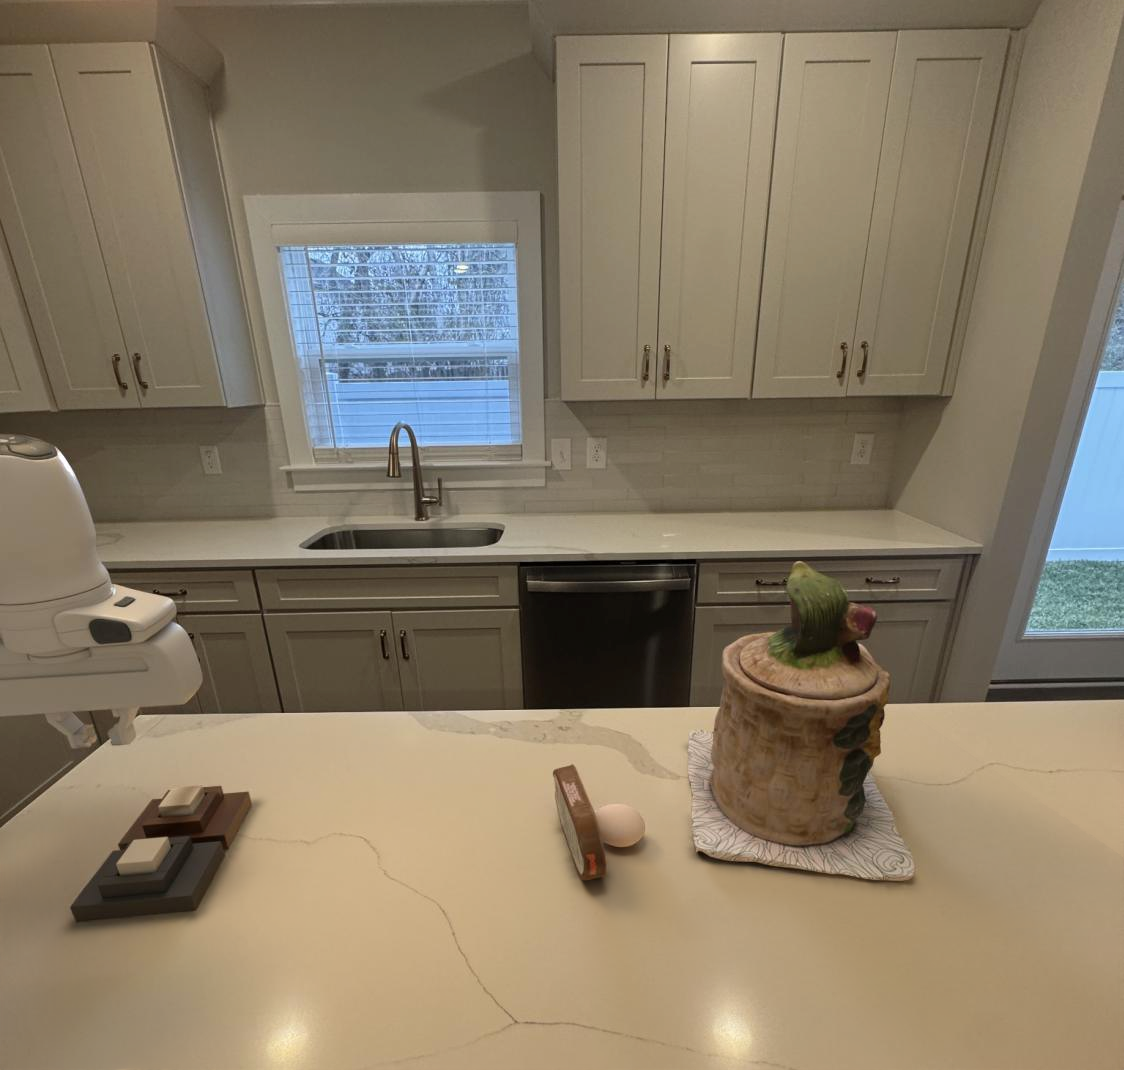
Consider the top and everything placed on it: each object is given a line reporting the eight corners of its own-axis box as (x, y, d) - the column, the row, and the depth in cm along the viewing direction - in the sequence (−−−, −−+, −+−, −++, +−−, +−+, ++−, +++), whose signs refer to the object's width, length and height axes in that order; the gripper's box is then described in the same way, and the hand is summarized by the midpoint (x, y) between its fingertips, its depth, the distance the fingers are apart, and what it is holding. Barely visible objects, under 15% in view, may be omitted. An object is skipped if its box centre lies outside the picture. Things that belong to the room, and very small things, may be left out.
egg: (642, 859, 71) (585, 851, 73) (645, 833, 76) (592, 825, 77) (644, 823, 70) (586, 816, 71) (647, 799, 74) (593, 792, 76)
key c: (120, 876, 66) (115, 864, 65) (137, 851, 69) (133, 839, 68) (155, 873, 66) (151, 860, 65) (171, 848, 69) (167, 836, 69)
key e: (161, 818, 74) (157, 806, 73) (175, 798, 77) (172, 787, 77) (193, 816, 74) (189, 804, 74) (205, 796, 78) (202, 785, 77)
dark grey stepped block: (75, 922, 65) (63, 894, 63) (118, 865, 72) (108, 838, 70) (195, 910, 66) (186, 882, 64) (225, 855, 73) (217, 828, 72)
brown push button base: (122, 858, 73) (113, 832, 71) (156, 812, 80) (148, 787, 79) (228, 849, 74) (221, 822, 73) (252, 804, 81) (245, 780, 80)
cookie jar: (690, 862, 71) (711, 606, 59) (685, 740, 93) (700, 537, 81) (920, 888, 67) (993, 619, 55) (858, 755, 90) (900, 543, 78)
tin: (608, 893, 67) (609, 832, 64) (580, 899, 66) (580, 838, 63) (574, 803, 81) (573, 750, 78) (550, 808, 80) (549, 753, 77)
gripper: (-93, 637, 53) (-32, 771, 58) (159, 624, 55) (196, 754, 60) (-35, 610, 58) (15, 733, 64) (191, 598, 60) (222, 719, 66)
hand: (105, 743), depth 62 cm, fingers closed
